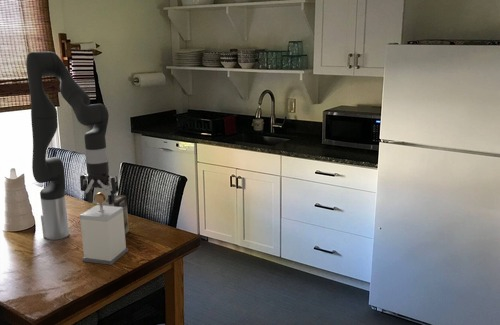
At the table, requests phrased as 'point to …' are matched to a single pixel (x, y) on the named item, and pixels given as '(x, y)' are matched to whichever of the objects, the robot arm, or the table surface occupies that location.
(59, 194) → the robot arm
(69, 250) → the table surface
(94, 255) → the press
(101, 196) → the plunger
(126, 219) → the coffee box
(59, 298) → the table surface
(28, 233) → the table surface
